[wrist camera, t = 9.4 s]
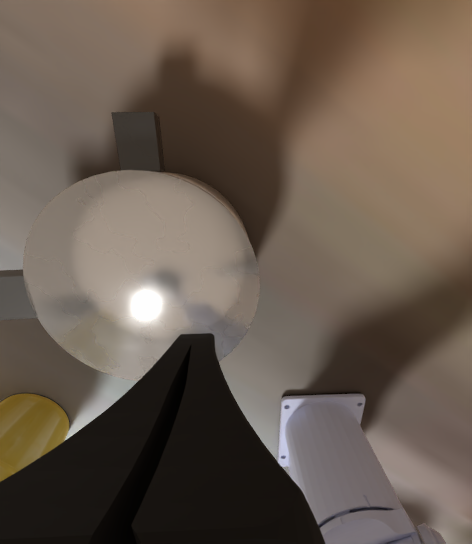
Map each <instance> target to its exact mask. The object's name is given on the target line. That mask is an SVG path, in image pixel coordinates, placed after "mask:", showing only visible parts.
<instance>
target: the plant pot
mask: <svg viewBox="0 0 472 544" xmlns="http://www.w3.org/2000/svg"><path fill="white" fill-rule="evenodd" d="M68 430H69V420H68V417H67V415H66V413H65V412H64V410H63V409H62V408H61V407H60V406H59V405H58V404H56V403H55V402H53V401H52V400H50V399H48V398H46V397H43V396H39V395H35V394H16V395H13V396H10V397H8V398H6V399H4V400H3V401H2V402H0V482H1V481H2V480H4V479H6V478H8V477H9V476H11V475H13V474H14V473H16V472H18V471H19V470H21V469H23V468H24V467H26V466H27V465H29V464H31V463H32V462H34V461H35V460H37V459H38V458H40V457H41V456H43V455H45V454H46V453H48V452H49V451H51V450H52V449H54V448H55V447H57V446H58V445H60V444H61V443H63V442H64V440H65V438H66V436H67V433H68Z"/></svg>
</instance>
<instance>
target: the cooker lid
mask: <svg viewBox="0 0 472 544" xmlns="http://www.w3.org/2000/svg"><path fill="white" fill-rule="evenodd" d="M259 291H260V280H259V270H258V265H257V260H256V257H255V254H254V251H253V248H252V246H251V244H250V242H249V240H248V238H247V236H246V234H245V232H244V230H243V228H242V227H241V225H240V224H239V223H238V221H237V220H236V218H235V217H234V216H233V215H232V213H231V212H230V211H229V210H228V209H227V208H226V207H225V206H224V205H223V204H222V203H221V202H220V201H218V200H217V199H216V198H215V197H214V196H213V195H211V194H209V193H208V192H206V191H205V190H203V189H202V188H200V187H199V186H196V185H194V184H192V183H190V182H188V181H186V180H184V179H181V178H178V177H175V176H172V175H169V174H163V173H158V172H153V171H139V170H123V171H111V172H107V173H102V174H98V175H94V176H91V177H89V178H86V179H84V180H81V181H79V182H77V183H75V184H73V185H72V186H70V187H68V188H66V189H65V190H63V191H62V192H61V193H59V194H58V195H57V196H56V197H55V198H53V199H52V200H51V201H50V202H49V203H48V204H47V206H46V207H45V208H44V209H43V210H42V211H41V213H40V214H39V216H38V217H37V219H36V221H35V222H34V224H33V226H32V228H31V231H30V233H29V236H28V238H27V241H26V246H25V250H24V257H23V270H4V271H0V320H12V319H31V318H38V320H39V321H40V323H41V325H42V326H43V327H44V329H45V330H46V331H47V333H48V334H49V335H50V336H51V337H52V338H53V339H54V340H55V341H56V342H57V344H58V345H59V346H61V347H62V348H63V349H64V350H65V351H67V352H68V353H69V354H70V355H72V356H73V357H75V358H76V359H78V360H79V361H81V362H82V363H84V364H86V365H88V366H90V367H92V368H94V369H96V370H98V371H101V372H103V373H106V374H109V375H112V376H116V377H119V378H123V379H129V380H135V381H139V380H140V379H141V378H142V377H143V376H144V375H145V374H146V373H147V372H148V371H149V370H150V369H151V368H152V367H153V365H154V364H155V363H156V362H157V361H158V360H159V359H160V358H161V357H162V355H163V354H164V353H165V352H166V351H167V350H168V348H169V347H170V346H171V345H172V344H173V342H174V341H175V340H176V339H177V338H178V337H179V336H180V335H181V334H202V333H212V334H213V335H214V338H215V351H216V355H217V359H218V362H219V361H220V360H222V359H223V358H224V357H225V356H227V355H228V354H229V353H230V352H231V351H232V350H233V349H234V348H235V347H236V346H237V345H238V344H239V342H240V341H241V340H242V338H243V337H244V336H245V334H246V332H247V331H248V329H249V327H250V325H251V323H252V321H253V318H254V316H255V313H256V309H257V305H258V301H259Z"/></svg>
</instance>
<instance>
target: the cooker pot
mask: <svg viewBox="0 0 472 544" xmlns="http://www.w3.org/2000/svg"><path fill="white" fill-rule="evenodd" d="M112 119H113V125H114V131H115V137H116V143H117V150H118V156H119V162H120V168H121V171H123V170H139V171H153V172H154V171H165V168H164V159H163V149H162V140H161V130H160V121H159V116H158V115H157V114H155V113H154V112H112ZM158 173H163V174H169V175H172V176H175V177H178V178H181V179H184V180H186V181H188V182H190V183H192V184H194V185H196V186H199V187H200V188H202V189H203V190H205V191H206V192H208V193H209V194H211V195H213V196H214V197H215V198H216V199H217V200H218V201H220V202H221V203H222V204H223V205H224V206H225V207H226V208H227V209H228V210H229V211H230V212H231V213H232V215H233V216H234V217H235V218H236V220H237V221H238V223H239V224H240V225H241V227H242V228H243V230H244V232H245V234H246V236H247V238H248V235H247V232H246V229H245V226H244V224H243V222H242V220H241V218H240V216H239V214H238V213H237V211H236V210H235V209H234V207H233V206H232V205H231V203H230V202H229V201H228V200H227V199H226V198H225V197H224V196H223V195H222V194H220V193H219V192H218V191H217V190H216V189H214V188H213V187H211V186H209V185H208V184H206V183H204V182H202V181H200V180H198V179H196V178H193V177H190V176H187V175H183V174H177V173H169V172H158ZM248 240H249V238H248ZM249 242H250V241H249Z"/></svg>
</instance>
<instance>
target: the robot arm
mask: <svg viewBox="0 0 472 544" xmlns="http://www.w3.org/2000/svg"><path fill="white" fill-rule="evenodd" d="M365 400H366V398H365V397H364V395H363V394H333V395H304V396H285V397H283V398H282V400H281V414H280V430H279V447H278V462H277V461H276V459H275V458H274V457H273V455H272V454H271V453H270V452H269V450H268V449H267V448H266V446H265V445H264V444H263V442H262V441H261V440H260V438H259V437H258V435H257V434H256V432H255V431H254V429H253V428H252V426H251V425H250V424H249V422H248V421H247V419H246V418H245V416H244V414H243V413H242V411H241V409H240V408H239V406H238V404H237V402H236V400H235V399H234V397H233V395H232V393H231V391H230V389H229V387H228V385H227V382H226V380H225V378H224V375H223V373H222V370H221V368H220V365H219V362H218V359H217V355H216V351H215V338H214V335H213V334H212V333H202V334H181V335H180V336H179V337H178V338H177V339H176V340H175V341H174V342H173V344H172V345H171V346H170V347H169V348H168V350H167V351H166V352H165V353H164V354H163V355H162V357H161V358H160V359H159V360H158V361H157V362H156V363H155V364H154V365H153V367H152V368H151V369H150V370H149V371H148V372H147V373H146V374H145V375H144V376H143V377H142V378H141V379H140V380H139V381H138V382H137V383H136V384H135V385H134V386H133V387H132V388H131V389H130V390H129V391H128V392H127V393H126V394H125V395H123V396H122V397H121V398H120V399H119V400H118V401H116V402H115V403H114V404H113V405H112V406H111V407H109V408H108V409H107V410H106V411H105V412H103V413H102V414H101V415H99V416H98V417H97V418H95V419H94V420H93V421H91V422H90V423H89V424H87V425H86V426H85V427H83V428H82V429H81V430H79V431H78V432H77V433H75V434H74V435H73V436H71V437H70V438H68V439H67V440H65V441H64V442H63V443H61V444H60V445H58V446H57V447H55V448H54V449H52V450H51V451H49V452H48V453H46V454H45V455H43V456H41V457H40V458H38V459H37V460H35V461H34V462H32V463H31V464H29V465H27V466H26V467H24V468H23V469H21V470H19V471H18V472H16V473H14V474H13V475H11V476H9V477H8V478H6V479H4V480H2V481H1V482H0V544H446V542H445V541H444V539H443V537H442V536H441V534H440V533H439V532H437V531H435V530H434V529H432V528H429V527H428V525H427V524H425V523H422V524H420V525H417V528H418V530H419V532H420V534H421V536H422V537H421V536H420V534H419V532H418V531H417V529H416V527H415V526H414V524H413V523H412V521H411V519H410V518H409V516H408V514H407V513H406V511H405V510H404V508H403V506H402V504H401V502H400V500H399V499H398V497H397V495H396V493H395V491H394V489H393V487H392V485H391V483H390V481H389V480H388V478H387V476H386V474H385V472H384V470H383V468H382V466H381V464H380V462H379V461H378V459H377V457H376V455H375V453H374V451H373V449H372V447H371V445H370V444H369V442H368V440H367V438H366V436H365V434H364V432H363V430H362V428H361V426H360V424H361V419H362V414H363V410H364V405H365ZM286 405H287V406H286ZM281 466H288V468H289V473H290V476H289V475H288V474H287V473H286V471H285V470H284V469H283V468H282V467H281ZM422 538H423V539H422ZM423 540H424V541H423ZM424 542H425V543H424Z"/></svg>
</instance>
